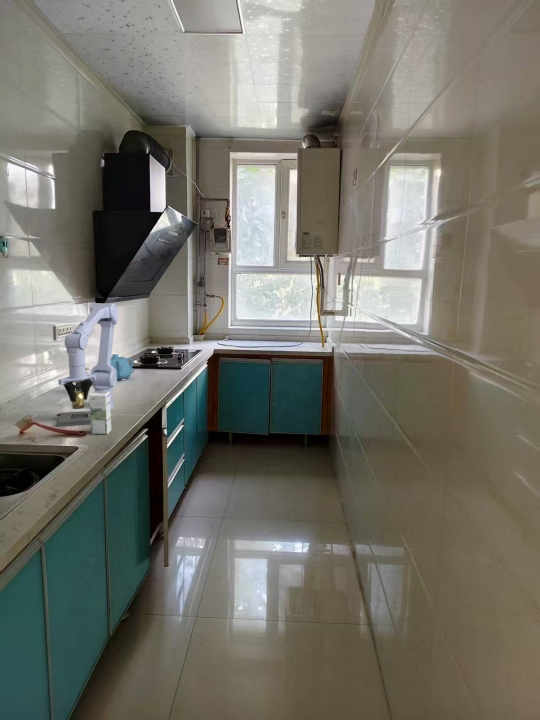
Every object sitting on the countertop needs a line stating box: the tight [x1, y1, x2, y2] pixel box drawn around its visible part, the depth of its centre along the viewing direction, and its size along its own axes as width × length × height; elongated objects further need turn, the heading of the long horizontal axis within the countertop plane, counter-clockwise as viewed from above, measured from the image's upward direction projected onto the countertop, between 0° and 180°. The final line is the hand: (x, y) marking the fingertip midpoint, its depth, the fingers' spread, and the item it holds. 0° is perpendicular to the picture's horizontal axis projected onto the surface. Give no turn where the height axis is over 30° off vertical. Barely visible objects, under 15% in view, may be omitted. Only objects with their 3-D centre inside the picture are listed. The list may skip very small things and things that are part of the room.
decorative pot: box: [96, 353, 135, 380], centre depth 274 cm, size 16×16×14 cm
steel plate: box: [57, 410, 91, 428], centre depth 195 cm, size 14×14×2 cm
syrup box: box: [89, 392, 112, 435], centre depth 181 cm, size 6×6×14 cm
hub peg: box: [71, 390, 86, 410], centre depth 194 cm, size 4×4×6 cm
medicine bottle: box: [74, 368, 95, 396], centre depth 239 cm, size 7×7×12 cm
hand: (78, 400), depth 194 cm, fingers closed on hub peg, 4 cm apart
